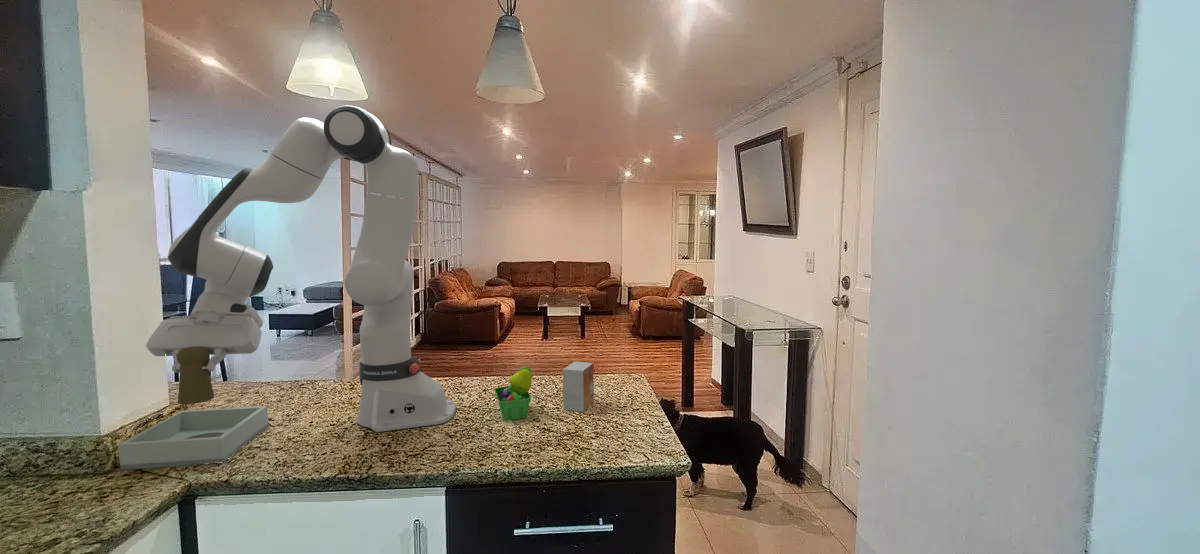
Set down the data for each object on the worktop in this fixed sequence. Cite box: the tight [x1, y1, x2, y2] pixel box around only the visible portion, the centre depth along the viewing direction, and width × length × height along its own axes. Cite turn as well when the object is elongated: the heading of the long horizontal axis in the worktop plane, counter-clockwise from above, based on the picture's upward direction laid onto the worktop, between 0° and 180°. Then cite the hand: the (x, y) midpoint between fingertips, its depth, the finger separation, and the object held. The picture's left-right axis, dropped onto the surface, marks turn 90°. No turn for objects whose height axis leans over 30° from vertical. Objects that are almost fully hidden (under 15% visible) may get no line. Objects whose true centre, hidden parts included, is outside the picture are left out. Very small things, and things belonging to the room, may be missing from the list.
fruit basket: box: [494, 366, 533, 421], centre depth 126 cm, size 11×9×11 cm
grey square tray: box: [117, 405, 270, 471], centre depth 108 cm, size 18×18×5 cm
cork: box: [177, 347, 215, 405], centre depth 106 cm, size 6×6×11 cm
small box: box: [562, 361, 595, 413], centre depth 130 cm, size 8×6×10 cm
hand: (192, 371), depth 106 cm, fingers closed on cork, 4 cm apart
